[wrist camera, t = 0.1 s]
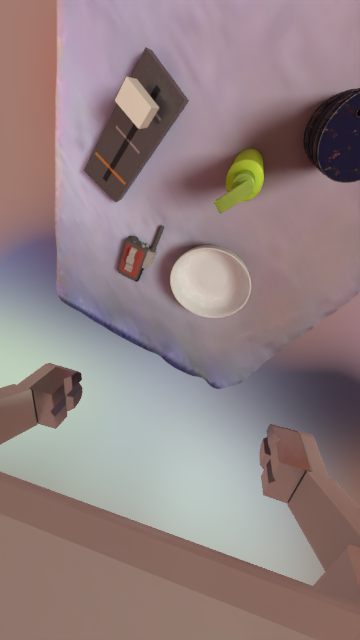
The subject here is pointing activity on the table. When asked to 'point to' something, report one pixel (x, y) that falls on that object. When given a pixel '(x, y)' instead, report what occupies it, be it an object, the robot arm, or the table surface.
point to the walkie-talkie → (137, 256)
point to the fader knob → (136, 103)
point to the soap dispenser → (242, 179)
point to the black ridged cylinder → (336, 137)
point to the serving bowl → (210, 281)
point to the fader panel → (135, 131)
